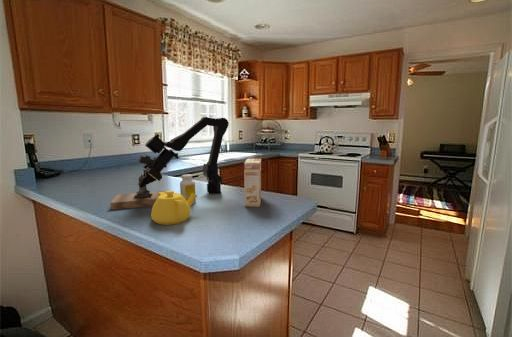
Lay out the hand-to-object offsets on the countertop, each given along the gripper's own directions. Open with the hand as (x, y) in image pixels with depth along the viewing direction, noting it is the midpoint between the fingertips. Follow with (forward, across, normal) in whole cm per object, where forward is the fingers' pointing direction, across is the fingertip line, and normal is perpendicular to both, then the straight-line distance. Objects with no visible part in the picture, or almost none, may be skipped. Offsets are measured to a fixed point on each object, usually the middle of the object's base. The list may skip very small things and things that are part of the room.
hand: (139, 185), depth 120 cm
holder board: (+5, 0, +6) cm, 8 cm away
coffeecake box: (-26, +25, +38) cm, 53 cm away
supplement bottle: (-8, +10, +20) cm, 23 cm away
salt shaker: (+4, 0, +6) cm, 7 cm away
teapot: (-1, +28, +13) cm, 31 cm away
